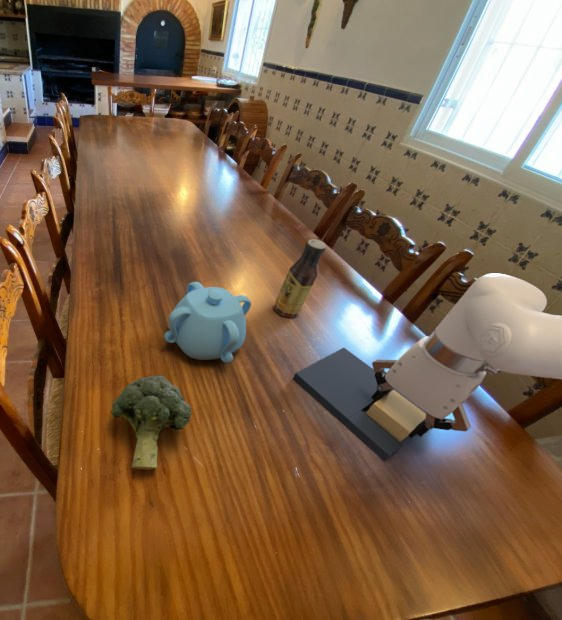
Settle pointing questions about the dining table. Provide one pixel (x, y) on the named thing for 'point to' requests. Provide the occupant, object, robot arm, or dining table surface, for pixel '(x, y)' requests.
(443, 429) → the robot arm
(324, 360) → the u-shaped block
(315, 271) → the sauce bottle
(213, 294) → the decorative pot
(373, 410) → the pad
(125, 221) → the dining table surface
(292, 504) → the dining table surface
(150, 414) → the vegetable
